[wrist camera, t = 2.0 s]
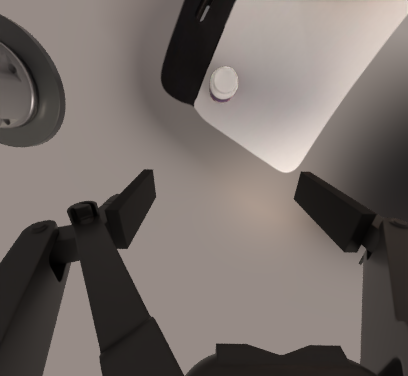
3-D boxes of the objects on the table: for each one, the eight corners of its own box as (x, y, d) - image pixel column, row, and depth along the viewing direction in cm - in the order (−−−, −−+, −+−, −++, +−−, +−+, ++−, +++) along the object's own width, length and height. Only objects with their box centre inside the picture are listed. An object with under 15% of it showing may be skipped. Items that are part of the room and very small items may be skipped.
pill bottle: (232, 104, 34) (238, 98, 26) (208, 102, 34) (208, 96, 26) (235, 77, 33) (243, 62, 25) (210, 75, 33) (211, 59, 25)
